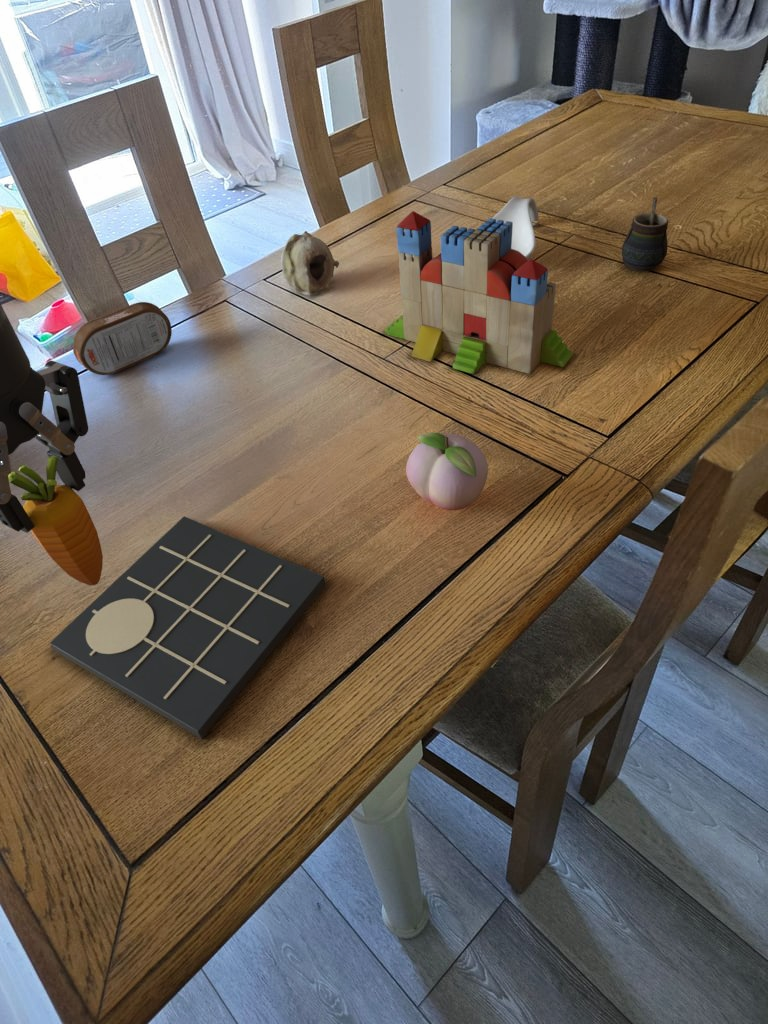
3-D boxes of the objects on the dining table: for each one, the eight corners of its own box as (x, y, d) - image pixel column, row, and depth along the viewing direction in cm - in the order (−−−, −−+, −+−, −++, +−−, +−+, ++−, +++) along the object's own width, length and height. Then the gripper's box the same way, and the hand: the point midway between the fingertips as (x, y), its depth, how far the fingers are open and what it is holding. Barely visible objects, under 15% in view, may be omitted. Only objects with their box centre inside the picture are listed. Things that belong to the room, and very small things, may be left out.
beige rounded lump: (291, 306, 123) (261, 258, 116) (308, 276, 127) (280, 228, 120) (334, 297, 118) (306, 246, 111) (351, 266, 122) (324, 216, 116)
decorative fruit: (502, 500, 81) (507, 432, 74) (459, 541, 77) (460, 474, 70) (439, 468, 86) (438, 402, 79) (396, 505, 82) (390, 438, 75)
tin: (171, 340, 113) (155, 292, 107) (180, 347, 111) (165, 298, 105) (84, 378, 107) (62, 329, 101) (92, 386, 105) (70, 337, 99)
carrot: (119, 557, 68) (57, 437, 57) (124, 594, 65) (60, 474, 54) (67, 573, 67) (-6, 454, 56) (70, 611, 64) (-7, 493, 53)
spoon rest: (524, 285, 117) (527, 243, 112) (457, 277, 121) (457, 237, 115) (555, 227, 132) (559, 188, 127) (495, 221, 136) (496, 183, 130)
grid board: (55, 651, 71) (48, 642, 69) (187, 524, 82) (183, 515, 81) (202, 739, 62) (197, 731, 61) (326, 585, 74) (324, 575, 73)
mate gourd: (620, 276, 117) (630, 216, 110) (617, 255, 122) (627, 197, 115) (665, 276, 115) (678, 216, 108) (661, 256, 120) (673, 196, 113)
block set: (581, 345, 103) (600, 214, 89) (541, 395, 95) (555, 259, 81) (419, 304, 115) (414, 183, 101) (371, 345, 107) (359, 220, 94)
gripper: (-2, 269, 52) (84, 444, 64) (-190, 368, 44) (-51, 547, 56) (65, 288, 49) (142, 468, 61) (-124, 397, 41) (8, 581, 53)
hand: (49, 505), depth 58 cm, fingers closed on carrot, 5 cm apart
